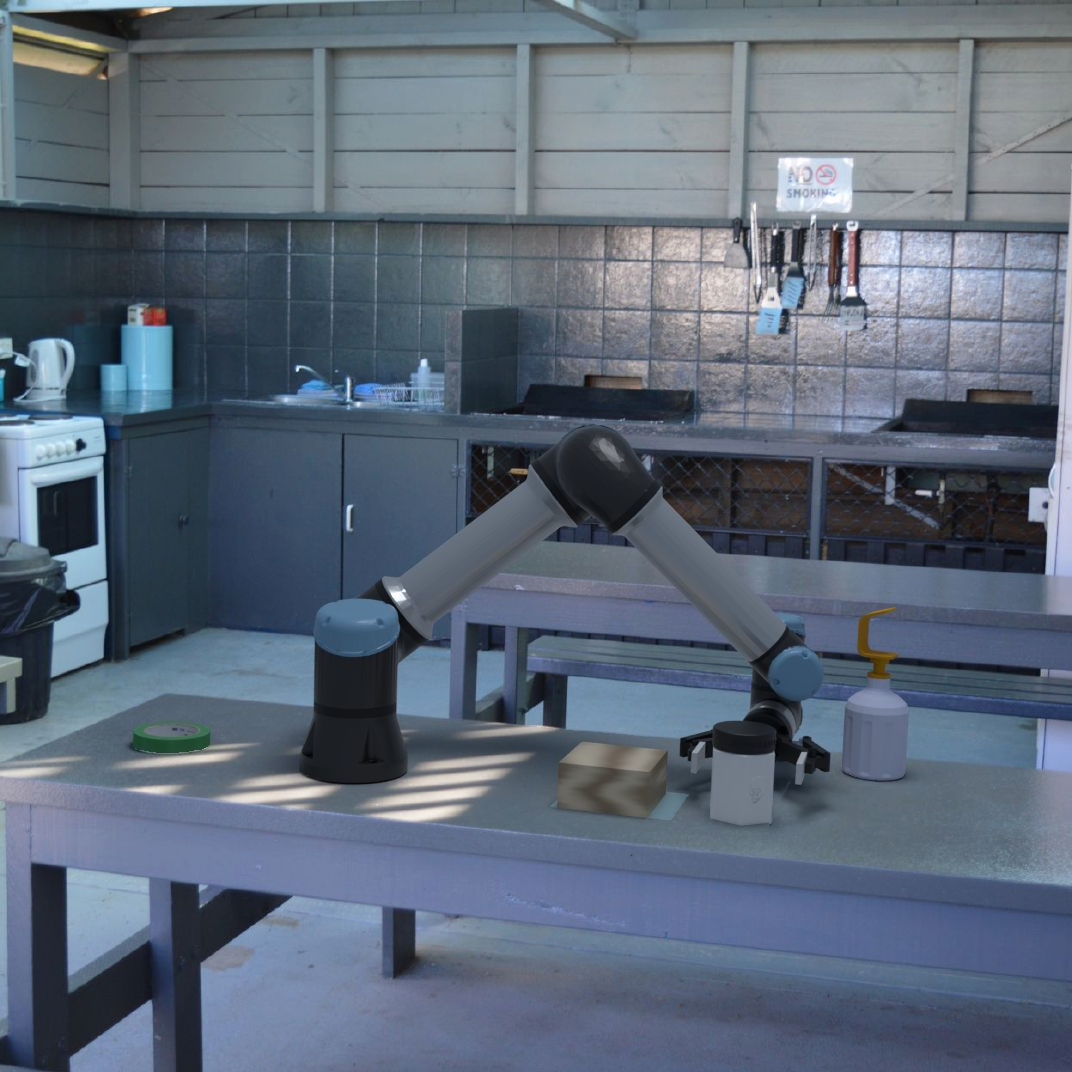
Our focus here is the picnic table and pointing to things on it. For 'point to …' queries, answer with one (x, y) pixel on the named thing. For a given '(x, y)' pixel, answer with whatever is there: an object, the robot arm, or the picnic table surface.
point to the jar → (742, 772)
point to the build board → (660, 806)
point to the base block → (612, 779)
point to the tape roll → (171, 737)
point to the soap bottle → (875, 719)
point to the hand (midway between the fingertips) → (745, 768)
